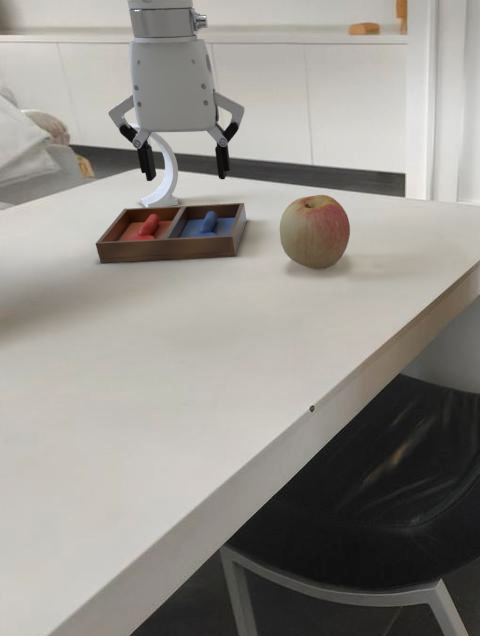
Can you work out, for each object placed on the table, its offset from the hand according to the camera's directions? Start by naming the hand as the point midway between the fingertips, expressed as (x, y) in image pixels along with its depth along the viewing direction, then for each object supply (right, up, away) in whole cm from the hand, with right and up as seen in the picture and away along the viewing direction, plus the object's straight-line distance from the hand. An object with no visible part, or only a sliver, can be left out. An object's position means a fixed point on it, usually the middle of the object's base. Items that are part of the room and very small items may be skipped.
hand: (187, 177), depth 93 cm
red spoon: (-7, -6, +4) cm, 10 cm away
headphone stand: (-9, +5, +21) cm, 23 cm away
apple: (+18, -14, -5) cm, 23 cm away
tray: (-3, -7, +5) cm, 9 cm away
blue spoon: (+2, -6, +4) cm, 8 cm away
